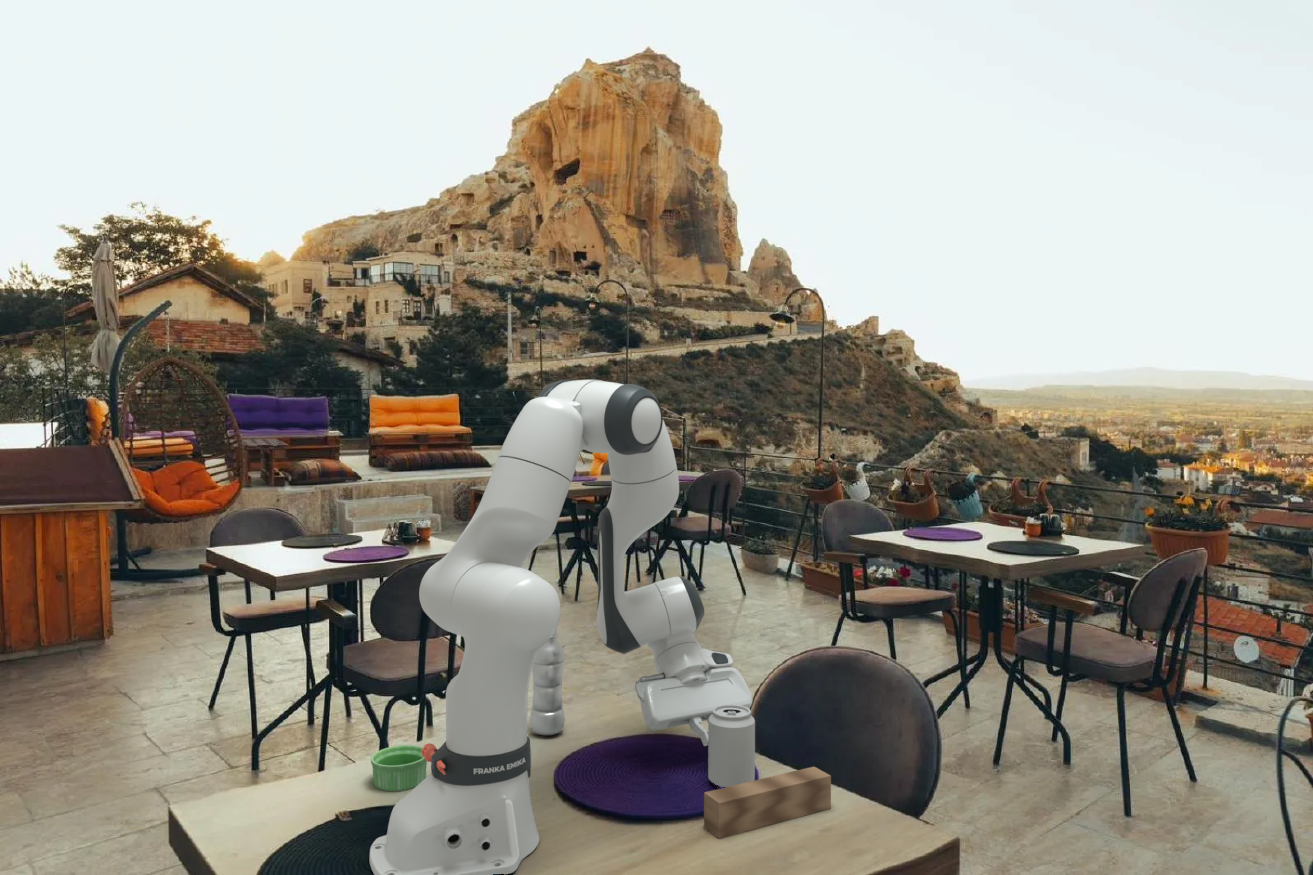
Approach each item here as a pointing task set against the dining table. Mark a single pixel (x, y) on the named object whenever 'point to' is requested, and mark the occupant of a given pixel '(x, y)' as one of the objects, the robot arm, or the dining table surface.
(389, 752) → the ramekin
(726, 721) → the can
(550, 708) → the plastic bottle
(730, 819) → the wooden block
